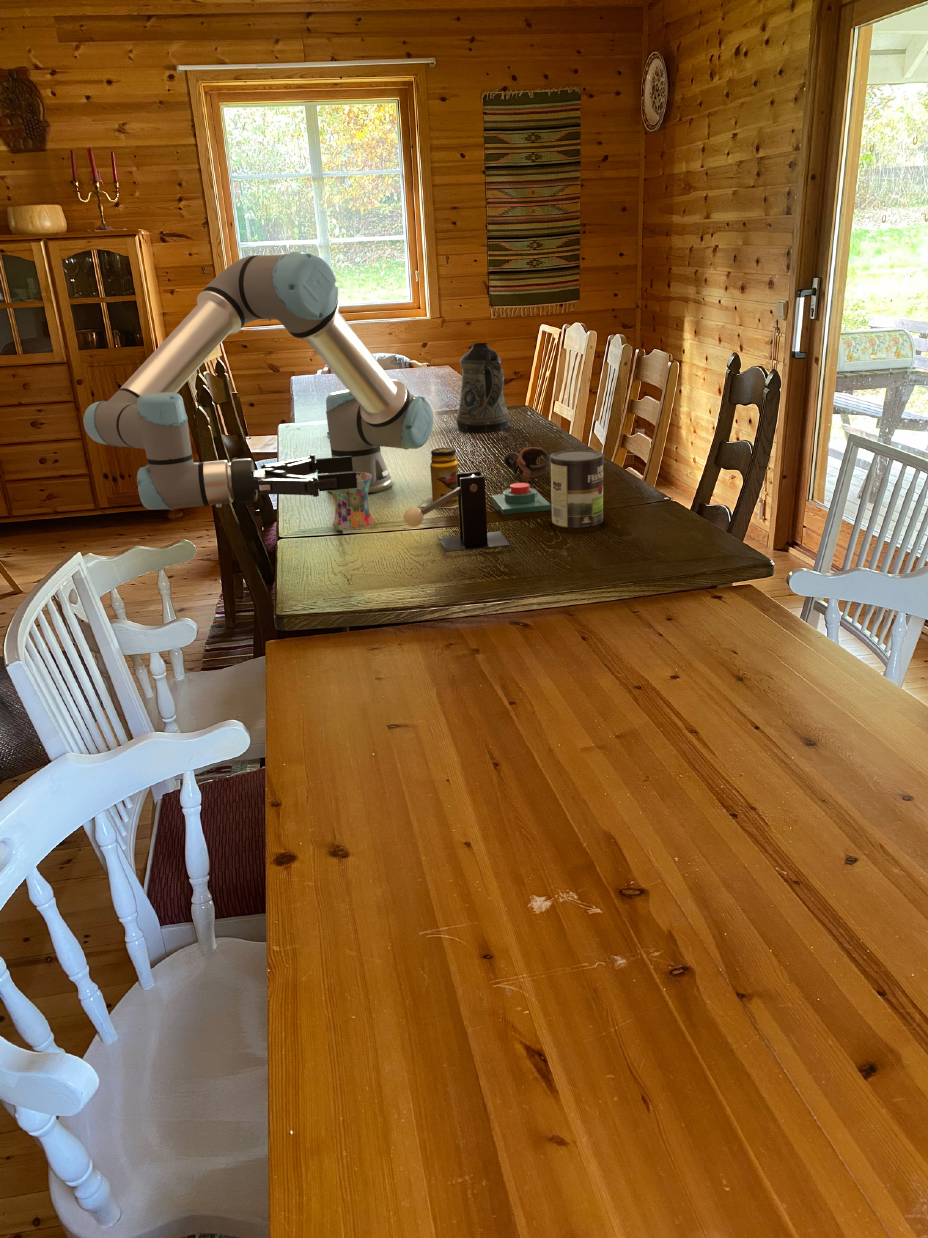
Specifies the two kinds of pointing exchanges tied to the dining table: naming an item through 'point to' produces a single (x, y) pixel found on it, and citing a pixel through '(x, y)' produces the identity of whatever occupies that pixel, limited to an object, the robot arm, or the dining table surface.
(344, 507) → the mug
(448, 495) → the lever
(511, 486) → the button
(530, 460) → the pottery mug
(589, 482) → the coffee can
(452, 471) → the condiment
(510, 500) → the button box
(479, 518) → the bracket
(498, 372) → the grey ceramic pitcher
